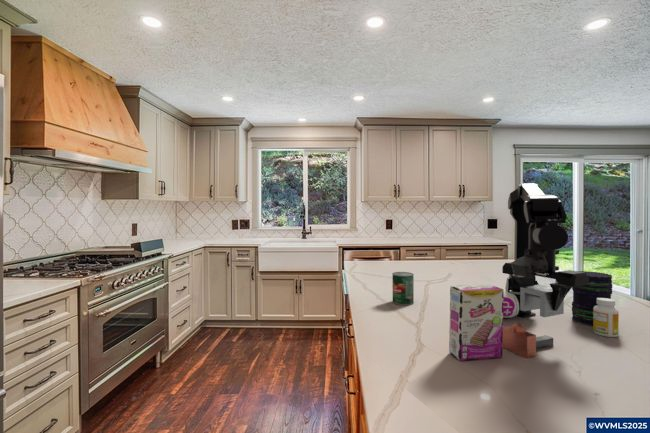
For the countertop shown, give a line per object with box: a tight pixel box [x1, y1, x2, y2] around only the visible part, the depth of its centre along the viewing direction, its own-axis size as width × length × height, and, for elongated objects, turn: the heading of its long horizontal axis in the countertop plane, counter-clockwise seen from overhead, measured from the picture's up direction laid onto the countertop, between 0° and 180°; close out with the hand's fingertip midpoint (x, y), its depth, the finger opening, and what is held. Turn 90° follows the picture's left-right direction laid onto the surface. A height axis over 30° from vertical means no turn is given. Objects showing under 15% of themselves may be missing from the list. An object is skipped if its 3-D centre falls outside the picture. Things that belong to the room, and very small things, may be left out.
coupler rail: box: [502, 322, 554, 359], centre depth 83 cm, size 13×7×7 cm, turn 112°
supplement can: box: [503, 291, 519, 319], centre depth 108 cm, size 8×8×15 cm
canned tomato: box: [391, 271, 415, 306], centre depth 126 cm, size 8×8×11 cm
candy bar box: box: [448, 284, 505, 362], centre depth 78 cm, size 11×5×16 cm, turn 100°
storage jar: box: [571, 270, 613, 327], centre depth 103 cm, size 10×10×15 cm
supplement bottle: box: [592, 298, 620, 338], centre depth 93 cm, size 5×5×10 cm
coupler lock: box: [520, 284, 565, 318], centre depth 84 cm, size 7×6×6 cm
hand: (541, 306), depth 84 cm, fingers closed on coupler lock, 6 cm apart
